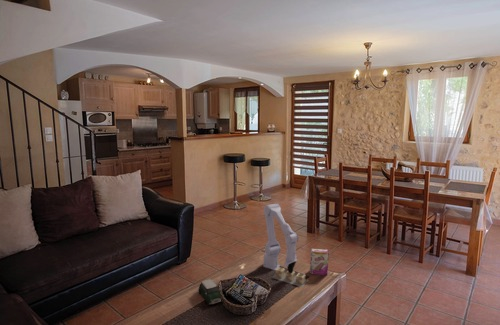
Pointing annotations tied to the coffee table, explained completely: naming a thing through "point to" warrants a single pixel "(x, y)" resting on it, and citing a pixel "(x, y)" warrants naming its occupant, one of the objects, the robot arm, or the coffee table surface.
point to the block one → (280, 272)
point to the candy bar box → (319, 261)
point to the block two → (300, 278)
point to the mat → (290, 281)
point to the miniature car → (209, 291)
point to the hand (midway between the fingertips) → (290, 272)
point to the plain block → (290, 276)
